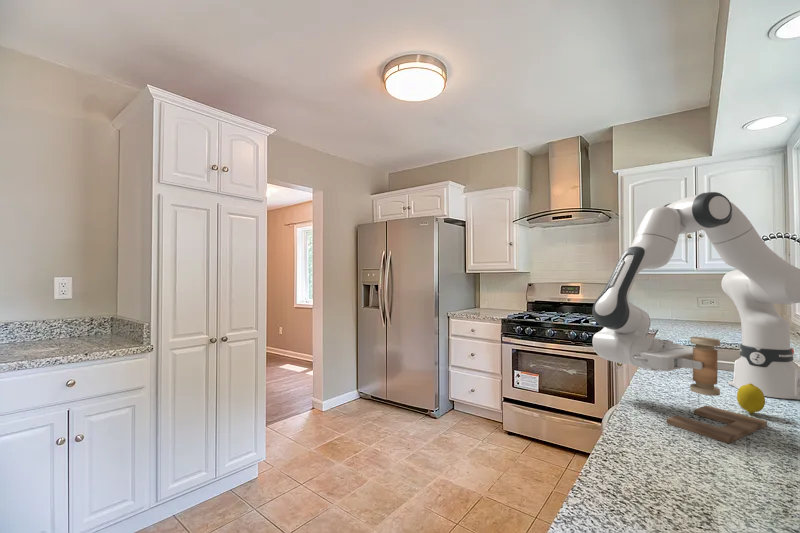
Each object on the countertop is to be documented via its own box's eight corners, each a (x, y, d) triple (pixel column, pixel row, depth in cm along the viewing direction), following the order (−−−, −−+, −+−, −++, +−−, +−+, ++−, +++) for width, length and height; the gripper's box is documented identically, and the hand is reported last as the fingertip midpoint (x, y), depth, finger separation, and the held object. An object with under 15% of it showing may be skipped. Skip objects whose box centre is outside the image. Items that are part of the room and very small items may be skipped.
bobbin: (697, 387, 100) (697, 336, 100) (724, 393, 95) (724, 339, 95) (685, 390, 97) (685, 337, 97) (713, 397, 92) (713, 341, 92)
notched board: (706, 409, 105) (706, 405, 105) (766, 426, 94) (766, 421, 94) (666, 423, 95) (666, 418, 95) (728, 443, 85) (728, 437, 85)
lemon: (759, 419, 99) (759, 387, 99) (732, 412, 103) (732, 382, 104) (769, 415, 101) (769, 384, 101) (742, 408, 106) (742, 379, 106)
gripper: (628, 345, 102) (687, 355, 90) (670, 339, 112) (728, 348, 100) (628, 369, 102) (687, 382, 90) (670, 361, 112) (728, 372, 100)
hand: (709, 364), depth 95 cm, fingers closed on bobbin, 5 cm apart
